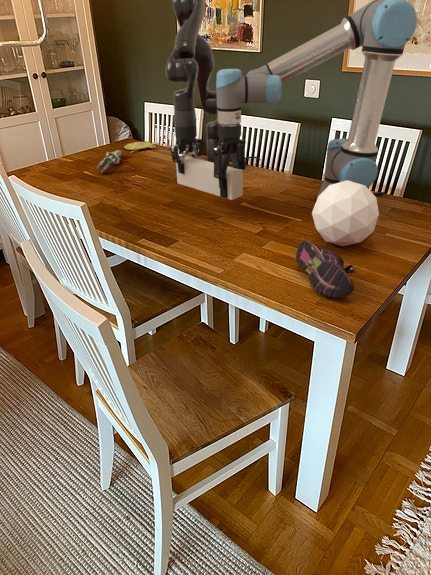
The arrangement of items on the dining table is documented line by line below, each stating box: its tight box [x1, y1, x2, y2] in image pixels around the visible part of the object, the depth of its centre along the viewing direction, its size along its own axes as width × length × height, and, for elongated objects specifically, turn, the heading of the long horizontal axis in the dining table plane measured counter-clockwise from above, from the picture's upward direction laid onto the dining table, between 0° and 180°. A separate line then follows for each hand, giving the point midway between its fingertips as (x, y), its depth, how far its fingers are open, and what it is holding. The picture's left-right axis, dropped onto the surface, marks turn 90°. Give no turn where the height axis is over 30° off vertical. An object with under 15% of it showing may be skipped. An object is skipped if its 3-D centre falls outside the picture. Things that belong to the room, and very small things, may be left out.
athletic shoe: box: [295, 240, 357, 299], centre depth 118 cm, size 11×22×12 cm
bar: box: [175, 155, 244, 201], centre depth 155 cm, size 27×6×9 cm, turn 47°
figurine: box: [96, 150, 123, 174], centre depth 213 cm, size 7×8×30 cm
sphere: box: [311, 180, 380, 248], centre depth 135 cm, size 19×20×20 cm
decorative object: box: [124, 141, 157, 154], centre depth 239 cm, size 21×2×20 cm
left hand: (188, 171), depth 161 cm, fingers closed on bar, 6 cm apart
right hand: (230, 194), depth 151 cm, fingers closed on bar, 6 cm apart
